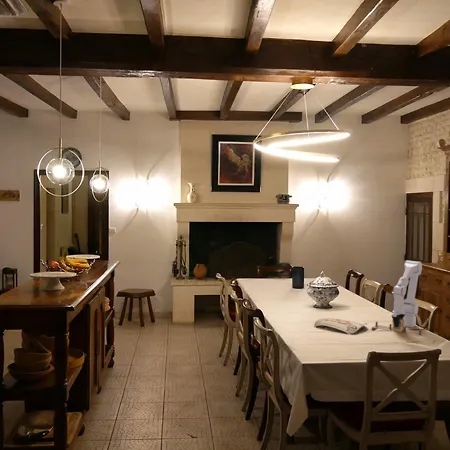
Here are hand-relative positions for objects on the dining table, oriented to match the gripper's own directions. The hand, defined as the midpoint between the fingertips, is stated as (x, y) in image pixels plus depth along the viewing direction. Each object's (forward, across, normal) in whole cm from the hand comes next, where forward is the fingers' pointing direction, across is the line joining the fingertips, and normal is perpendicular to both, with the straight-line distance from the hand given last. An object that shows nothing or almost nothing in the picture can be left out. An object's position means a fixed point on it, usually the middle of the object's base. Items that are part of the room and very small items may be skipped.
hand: (397, 326), depth 323 cm
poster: (+5, +12, -33) cm, 35 cm away
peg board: (+4, 0, 0) cm, 4 cm away
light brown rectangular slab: (+3, 0, 0) cm, 3 cm away
